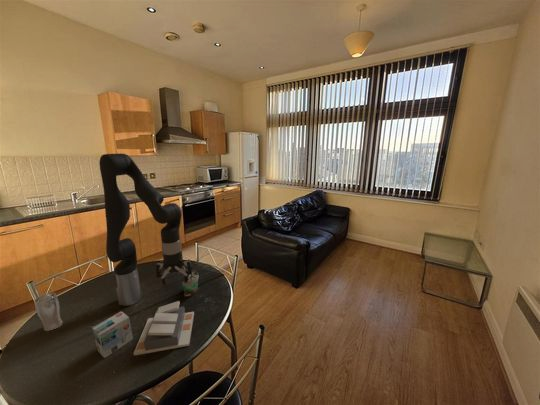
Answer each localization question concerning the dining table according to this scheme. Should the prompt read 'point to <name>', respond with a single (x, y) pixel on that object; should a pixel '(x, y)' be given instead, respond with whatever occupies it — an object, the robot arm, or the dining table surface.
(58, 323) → the beer glass
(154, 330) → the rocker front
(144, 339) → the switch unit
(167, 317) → the rocker middle
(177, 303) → the rocker back
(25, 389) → the dining table surface
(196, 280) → the food container
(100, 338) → the light bulb box
